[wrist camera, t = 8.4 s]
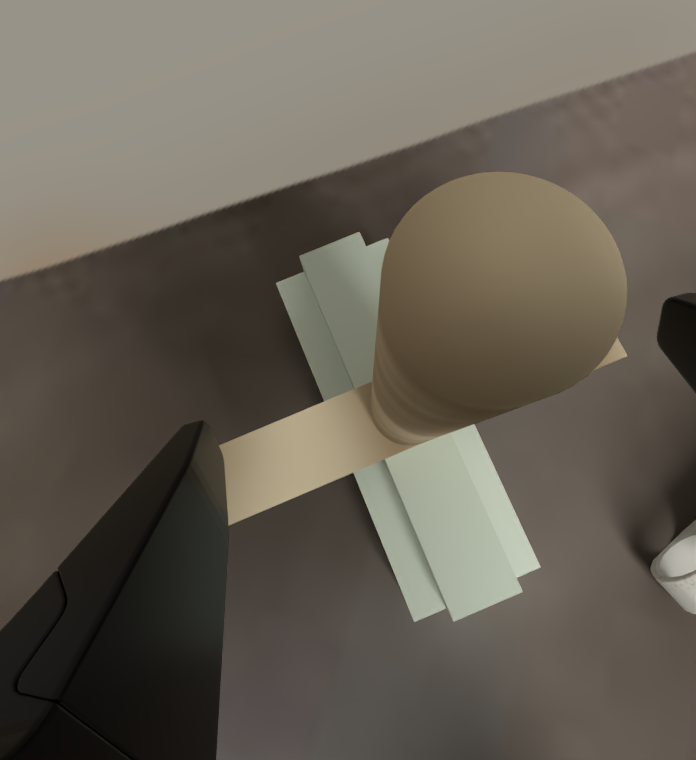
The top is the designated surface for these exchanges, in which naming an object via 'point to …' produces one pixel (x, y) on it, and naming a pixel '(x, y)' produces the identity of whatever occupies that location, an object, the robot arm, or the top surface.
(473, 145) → the top surface
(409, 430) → the rubber stamp
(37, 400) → the top surface
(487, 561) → the ridge
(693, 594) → the wrench
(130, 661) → the robot arm
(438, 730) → the top surface
